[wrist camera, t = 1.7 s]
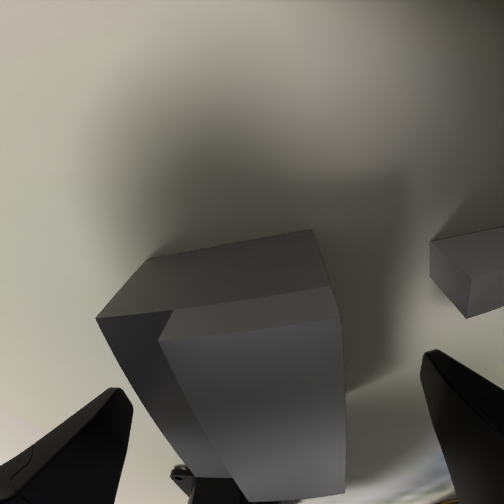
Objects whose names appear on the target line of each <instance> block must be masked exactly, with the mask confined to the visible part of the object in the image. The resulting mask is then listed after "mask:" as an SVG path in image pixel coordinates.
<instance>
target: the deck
mask: <svg viewBox="0 0 504 504" xmlns="http://www.w3.org/2000/svg"><path fill="white" fill-rule="evenodd" d="M430 278H431V279H432V280H433V281H434V282H435V283H436V284H437V285H438V286H439V288H440V289H441V290H442V291H443V292H444V293H445V294H446V296H447V297H448V298H449V299H450V300H451V301H452V303H453V304H454V305H455V306H456V307H457V309H458V310H459V311H460V312H461V313H462V315H463V316H464V317H465V318H466V319H467V318H470V317H473V316H476V315H479V314H482V313H486V312H488V311H491V310H494V309H497V308H500V307H503V306H504V227H500V228H495V229H490V230H486V231H481V232H476V233H471V234H466V235H461V236H456V237H451V238H446V239H441V240H436V241H431V242H430Z"/></svg>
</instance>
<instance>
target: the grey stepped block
mask: <svg viewBox="0 0 504 504" xmlns="http://www.w3.org/2000/svg"><path fill="white" fill-rule="evenodd" d="M95 319H96V321H97V323H98V325H99V327H100V329H101V331H102V333H103V335H104V337H105V339H106V341H107V343H108V345H109V346H110V348H111V350H112V352H113V354H114V356H115V358H116V359H117V361H118V363H119V365H120V367H121V368H122V370H123V372H124V374H125V375H126V377H127V379H128V381H129V382H130V384H131V386H132V387H133V389H134V391H135V392H136V394H137V395H138V397H139V399H140V400H141V402H142V403H143V405H144V407H145V408H146V410H147V411H148V413H149V414H150V416H151V417H152V419H153V420H154V422H155V423H156V425H157V426H158V428H159V429H160V431H161V432H162V433H163V435H164V436H165V438H166V439H167V440H168V442H169V443H170V445H171V446H172V447H173V449H174V450H175V451H176V453H177V454H178V455H179V457H180V458H181V459H182V461H183V462H184V463H185V464H186V466H187V467H188V468H189V469H190V471H191V472H192V473H193V474H194V476H195V477H209V478H233V479H234V481H235V482H236V484H237V485H238V487H239V488H240V490H241V491H242V492H243V494H244V495H245V497H246V498H247V500H248V501H249V502H265V501H284V500H297V499H307V498H316V497H324V496H331V495H337V494H343V493H345V472H346V403H345V375H344V356H343V340H342V326H341V316H340V312H339V309H338V306H337V303H336V300H335V297H334V294H333V290H332V287H331V284H330V281H329V278H328V275H327V272H326V269H325V266H324V263H323V261H322V258H321V255H320V252H319V249H318V246H317V243H316V240H315V238H314V235H313V232H312V229H310V230H304V231H299V232H293V233H287V234H282V235H276V236H271V237H265V238H260V239H254V240H249V241H243V242H238V243H232V244H227V245H221V246H216V247H211V248H205V249H200V250H195V251H189V252H184V253H179V254H173V255H168V256H163V257H158V258H152V259H147V260H146V261H145V262H144V263H143V264H142V265H141V266H140V268H139V269H138V270H137V271H136V272H135V273H134V274H133V275H132V276H131V278H130V279H129V280H128V281H127V282H126V283H125V284H124V285H123V287H122V288H121V289H120V290H119V291H118V292H117V293H116V295H115V296H114V297H113V298H112V299H111V300H110V302H109V303H108V304H107V305H106V306H105V307H104V309H103V310H102V311H101V312H100V313H99V314H98V316H97V317H96V318H95Z"/></svg>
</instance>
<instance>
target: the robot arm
mask: <svg viewBox="0 0 504 504" xmlns="http://www.w3.org/2000/svg"><path fill="white" fill-rule="evenodd" d="M420 379H421V383H422V387H423V390H424V394H425V398H426V401H427V405H428V409H429V413H430V417H431V421H432V424H433V427H434V430H435V433H436V435H437V438H438V441H439V443H440V446H441V449H442V452H443V455H444V458H445V461H446V464H447V467H448V470H449V473H450V476H451V479H452V482H453V485H454V488H455V492H456V495H457V499H458V502H459V504H504V390H503V389H501V388H500V387H498V386H497V385H495V384H493V383H492V382H490V381H489V380H487V379H485V378H484V377H482V376H480V375H479V374H477V373H476V372H474V371H472V370H471V369H469V368H468V367H466V366H464V365H463V364H461V363H459V362H458V361H456V360H455V359H453V358H451V357H450V356H448V355H446V354H445V353H443V352H442V351H440V350H437V349H435V350H432V351H428V352H425V353H424V355H423V359H422V366H421V371H420ZM132 417H133V405H132V403H131V402H130V400H129V399H128V397H127V395H126V394H125V392H124V391H123V390H122V389H121V388H113V387H111V388H108V389H107V390H106V391H104V392H103V393H102V394H100V395H99V396H98V397H96V398H95V399H94V400H92V401H91V402H90V403H88V404H87V405H86V406H84V407H83V408H82V409H80V410H79V411H78V412H76V413H75V414H74V415H72V416H71V417H70V418H68V419H67V420H66V421H64V422H63V423H62V424H60V425H59V426H57V427H56V428H55V429H53V430H52V431H51V432H49V433H48V434H47V435H45V436H44V437H43V438H41V439H40V440H38V441H37V442H36V443H35V444H33V445H31V446H30V447H29V448H27V449H26V450H25V451H23V452H22V453H20V454H19V455H17V456H16V457H14V458H12V459H11V460H9V461H8V462H6V463H4V464H3V465H1V466H0V504H114V502H115V497H116V493H117V489H118V485H119V481H120V477H121V473H122V469H123V465H124V461H125V457H126V453H127V448H128V442H129V436H130V429H131V423H132ZM170 477H171V479H172V480H173V481H174V482H175V483H176V484H177V485H178V486H179V487H180V488H181V489H182V490H183V491H184V492H185V493H186V494H187V496H188V497H189V500H188V504H296V502H295V500H284V501H265V502H249V501H248V500H247V498H246V497H245V495H244V494H243V492H242V491H241V490H240V488H239V487H238V485H237V484H236V482H235V481H234V479H233V478H209V477H195V476H194V474H193V473H192V472H191V471H190V470H180V469H173V470H172V471H171V474H170Z"/></svg>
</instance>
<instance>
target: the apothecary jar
mask: <svg viewBox="0 0 504 504" xmlns="http://www.w3.org/2000/svg"><path fill="white" fill-rule="evenodd" d="M438 504H459V502H458V499H452V500H448V501H445V502H441V503H438Z"/></svg>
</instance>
